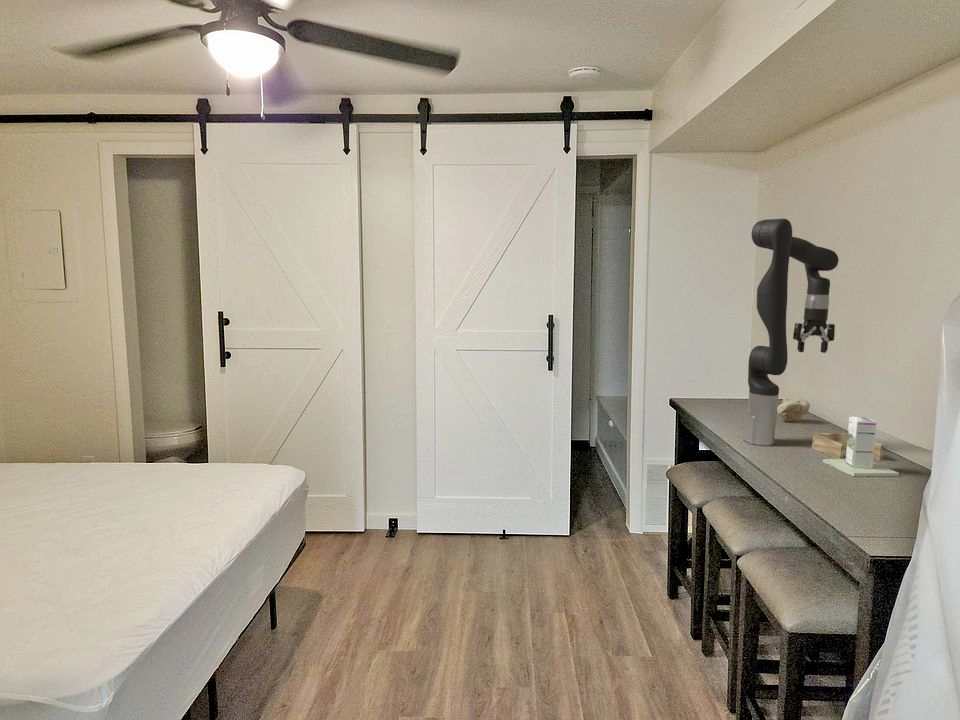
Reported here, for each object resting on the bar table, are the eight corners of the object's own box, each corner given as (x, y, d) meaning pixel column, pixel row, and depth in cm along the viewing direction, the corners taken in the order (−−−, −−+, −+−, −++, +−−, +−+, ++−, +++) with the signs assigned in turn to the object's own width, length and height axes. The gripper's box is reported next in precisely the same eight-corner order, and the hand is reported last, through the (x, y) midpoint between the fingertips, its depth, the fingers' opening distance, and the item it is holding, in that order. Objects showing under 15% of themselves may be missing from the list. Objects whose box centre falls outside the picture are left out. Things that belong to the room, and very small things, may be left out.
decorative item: (803, 420, 256) (805, 395, 255) (811, 425, 248) (814, 400, 246) (771, 418, 258) (773, 394, 256) (778, 423, 249) (781, 398, 248)
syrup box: (873, 469, 189) (878, 421, 187) (851, 467, 190) (857, 420, 188) (864, 463, 195) (869, 416, 193) (843, 462, 195) (848, 415, 193)
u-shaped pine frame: (839, 460, 201) (841, 444, 200) (811, 447, 215) (813, 433, 214) (882, 460, 202) (884, 444, 202) (851, 447, 216) (853, 433, 216)
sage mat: (853, 476, 185) (853, 473, 184) (823, 462, 198) (823, 459, 198) (898, 476, 186) (898, 472, 186) (865, 461, 200) (865, 458, 200)
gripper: (804, 307, 224) (799, 353, 226) (842, 308, 225) (837, 353, 227) (791, 306, 231) (787, 350, 233) (828, 307, 232) (824, 351, 235)
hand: (812, 352), depth 230 cm, fingers open, 8 cm apart
